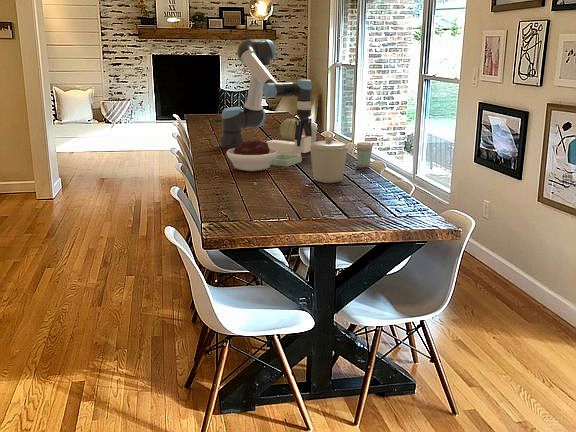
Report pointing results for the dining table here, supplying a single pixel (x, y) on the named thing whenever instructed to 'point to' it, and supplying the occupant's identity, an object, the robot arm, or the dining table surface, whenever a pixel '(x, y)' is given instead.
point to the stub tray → (286, 160)
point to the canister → (328, 160)
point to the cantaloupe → (288, 129)
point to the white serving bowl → (252, 156)
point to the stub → (304, 144)
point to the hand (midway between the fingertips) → (303, 150)
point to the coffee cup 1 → (314, 131)
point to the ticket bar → (283, 147)
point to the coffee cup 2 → (364, 154)
